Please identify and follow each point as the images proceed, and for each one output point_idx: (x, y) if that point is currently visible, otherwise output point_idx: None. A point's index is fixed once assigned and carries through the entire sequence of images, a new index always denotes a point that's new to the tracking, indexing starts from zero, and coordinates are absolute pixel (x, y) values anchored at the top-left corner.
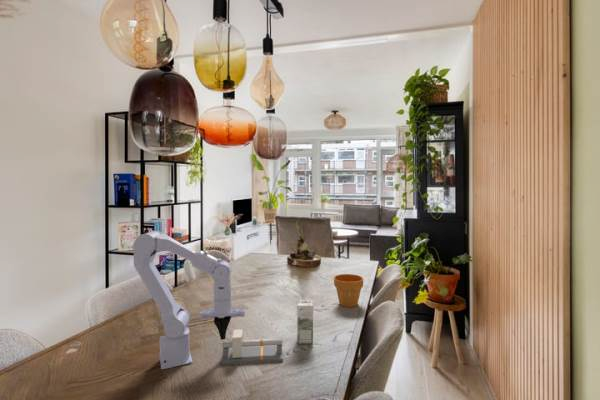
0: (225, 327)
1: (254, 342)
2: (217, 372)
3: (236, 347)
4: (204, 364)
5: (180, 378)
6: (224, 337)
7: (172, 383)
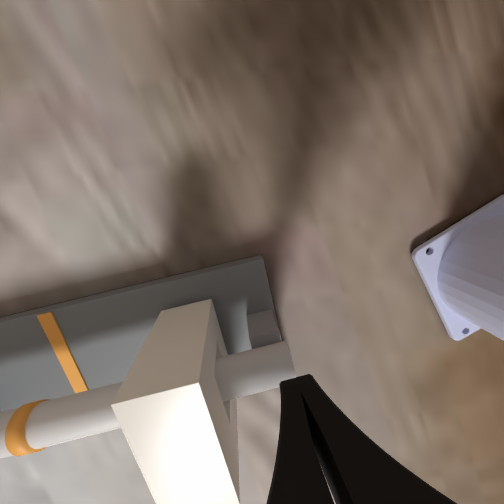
0: (290, 491)
1: (68, 411)
2: (254, 185)
3: (178, 337)
4: (346, 249)
5: (425, 106)
6: (283, 390)
7: (452, 53)
